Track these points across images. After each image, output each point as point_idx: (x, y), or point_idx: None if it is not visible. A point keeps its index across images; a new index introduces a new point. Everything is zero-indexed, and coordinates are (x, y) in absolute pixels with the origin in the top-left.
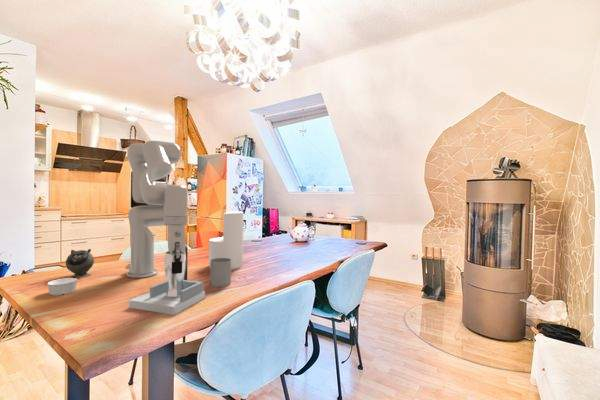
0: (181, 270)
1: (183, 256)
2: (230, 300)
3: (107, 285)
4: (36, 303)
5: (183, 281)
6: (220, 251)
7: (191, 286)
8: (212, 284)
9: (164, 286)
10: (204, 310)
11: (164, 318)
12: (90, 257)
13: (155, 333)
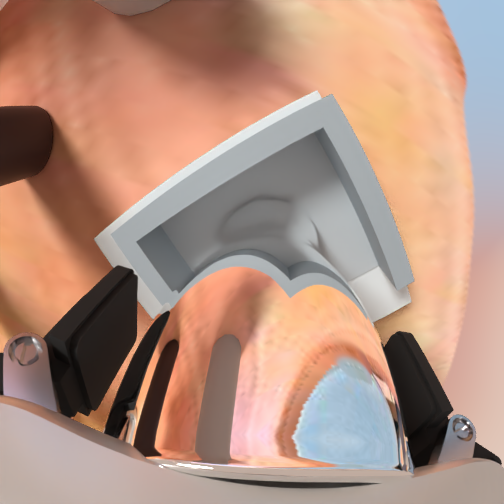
0: (415, 348)
1: (406, 429)
2: (412, 42)
3: (13, 327)
4: (98, 430)
5: (303, 237)
6: None
7: (372, 203)
8: (149, 6)
9: None
10: (442, 183)
11: (397, 317)
12: None
13: (448, 350)
